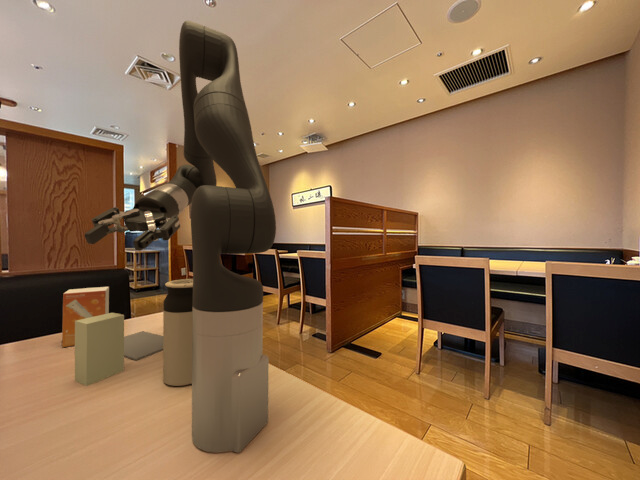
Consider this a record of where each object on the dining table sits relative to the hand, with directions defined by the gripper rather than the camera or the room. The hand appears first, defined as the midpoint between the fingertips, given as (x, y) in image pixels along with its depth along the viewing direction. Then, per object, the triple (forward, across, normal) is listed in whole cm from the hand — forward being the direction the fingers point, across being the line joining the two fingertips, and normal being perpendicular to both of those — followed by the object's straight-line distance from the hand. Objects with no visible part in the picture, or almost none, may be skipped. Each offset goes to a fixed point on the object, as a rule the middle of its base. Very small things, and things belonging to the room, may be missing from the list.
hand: (112, 243), depth 46 cm
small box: (-2, -18, +35) cm, 39 cm away
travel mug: (+10, +15, +22) cm, 28 cm away
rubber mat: (-1, -3, +31) cm, 31 cm away
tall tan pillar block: (+11, -1, +23) cm, 26 cm away
